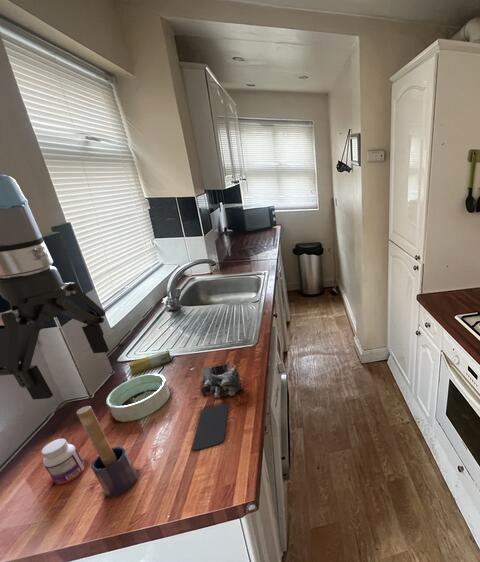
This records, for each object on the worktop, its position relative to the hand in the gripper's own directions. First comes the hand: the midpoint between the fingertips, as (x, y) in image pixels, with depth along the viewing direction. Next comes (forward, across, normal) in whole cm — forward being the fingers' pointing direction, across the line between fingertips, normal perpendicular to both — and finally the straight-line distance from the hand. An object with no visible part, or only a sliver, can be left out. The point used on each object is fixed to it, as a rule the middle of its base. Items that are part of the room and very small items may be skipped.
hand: (75, 372), depth 60 cm
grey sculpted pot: (+31, +29, -11) cm, 44 cm away
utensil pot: (+31, -2, 0) cm, 31 cm away
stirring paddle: (+30, -2, 0) cm, 30 cm away
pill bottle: (+31, +2, +14) cm, 34 cm away
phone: (+31, +13, -14) cm, 36 cm away
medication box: (+31, +43, +19) cm, 56 cm away
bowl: (+31, +24, +11) cm, 40 cm away
